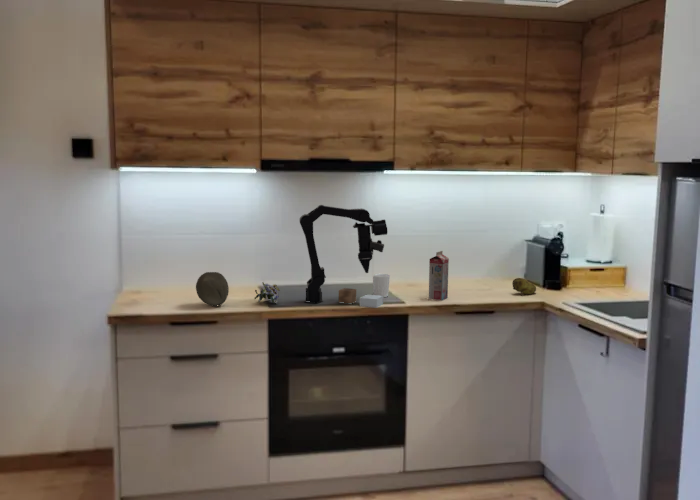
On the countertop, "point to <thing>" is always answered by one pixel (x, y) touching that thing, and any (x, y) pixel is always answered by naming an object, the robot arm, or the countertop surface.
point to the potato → (523, 286)
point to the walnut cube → (347, 295)
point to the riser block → (371, 301)
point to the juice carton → (438, 277)
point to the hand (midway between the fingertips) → (367, 271)
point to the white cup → (381, 284)
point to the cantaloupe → (212, 288)
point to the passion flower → (268, 293)
